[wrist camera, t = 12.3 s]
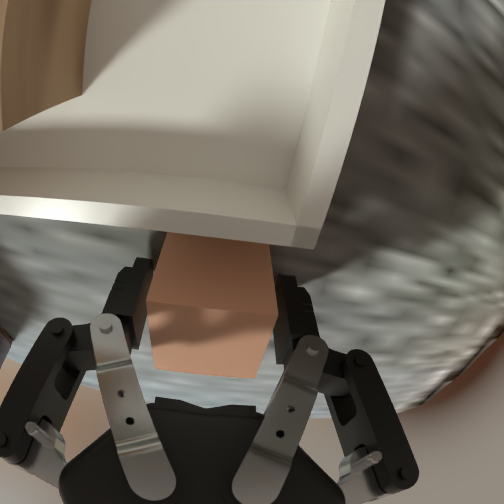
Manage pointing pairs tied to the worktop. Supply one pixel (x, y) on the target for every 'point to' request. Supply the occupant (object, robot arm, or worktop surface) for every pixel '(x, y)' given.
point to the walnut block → (40, 55)
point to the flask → (4, 344)
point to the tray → (200, 119)
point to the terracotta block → (211, 306)
